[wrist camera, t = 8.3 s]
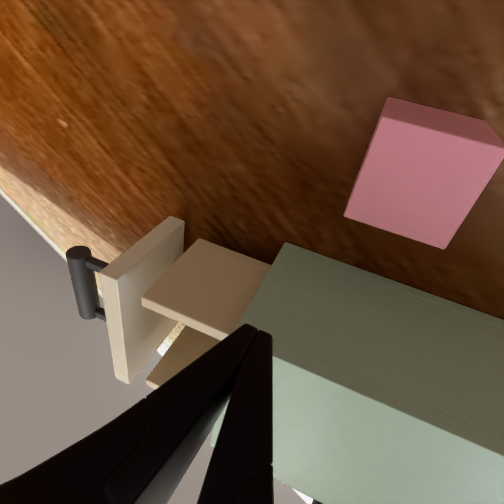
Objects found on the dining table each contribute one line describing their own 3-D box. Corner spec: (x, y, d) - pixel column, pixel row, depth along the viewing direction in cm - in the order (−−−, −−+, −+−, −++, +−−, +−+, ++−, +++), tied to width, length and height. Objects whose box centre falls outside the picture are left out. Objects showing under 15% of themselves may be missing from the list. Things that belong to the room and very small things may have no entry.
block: (437, 206, 17) (444, 250, 14) (355, 181, 18) (342, 217, 15) (487, 120, 15) (510, 149, 11) (387, 95, 16) (381, 115, 12)
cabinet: (256, 347, 29) (209, 445, 22) (285, 241, 22) (229, 337, 15) (420, 419, 26) (424, 556, 19) (514, 323, 19) (571, 485, 12)
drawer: (121, 293, 31) (60, 351, 25) (110, 193, 24) (26, 241, 19) (307, 375, 27) (282, 462, 22) (351, 282, 21) (330, 372, 15)
